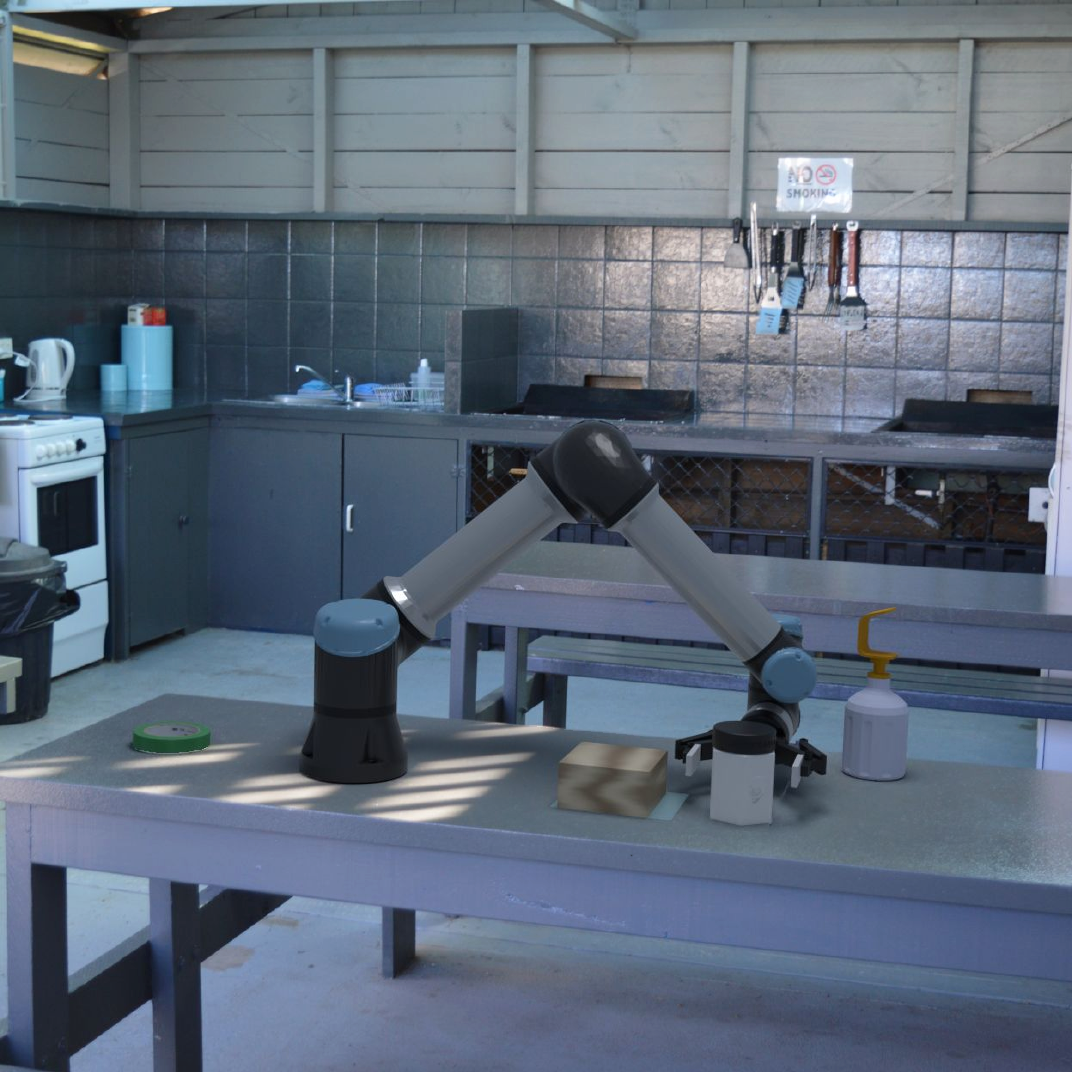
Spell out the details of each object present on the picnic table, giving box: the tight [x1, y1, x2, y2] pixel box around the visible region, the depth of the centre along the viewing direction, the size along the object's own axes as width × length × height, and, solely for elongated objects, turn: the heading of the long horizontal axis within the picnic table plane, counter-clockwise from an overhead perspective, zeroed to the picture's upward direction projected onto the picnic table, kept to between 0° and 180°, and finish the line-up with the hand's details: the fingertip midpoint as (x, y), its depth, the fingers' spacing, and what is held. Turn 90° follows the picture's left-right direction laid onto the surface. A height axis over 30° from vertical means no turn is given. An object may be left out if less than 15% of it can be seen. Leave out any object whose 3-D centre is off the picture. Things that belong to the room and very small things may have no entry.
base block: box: [556, 741, 669, 819], centre depth 196 cm, size 12×12×6 cm
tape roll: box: [132, 721, 211, 753], centre depth 219 cm, size 11×11×3 cm
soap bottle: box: [841, 606, 910, 782], centre depth 215 cm, size 9×9×25 cm
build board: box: [549, 791, 690, 822], centre depth 197 cm, size 16×13×1 cm
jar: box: [709, 720, 777, 826], centre depth 191 cm, size 9×8×12 cm
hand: (740, 771), depth 190 cm, fingers open, 13 cm apart
